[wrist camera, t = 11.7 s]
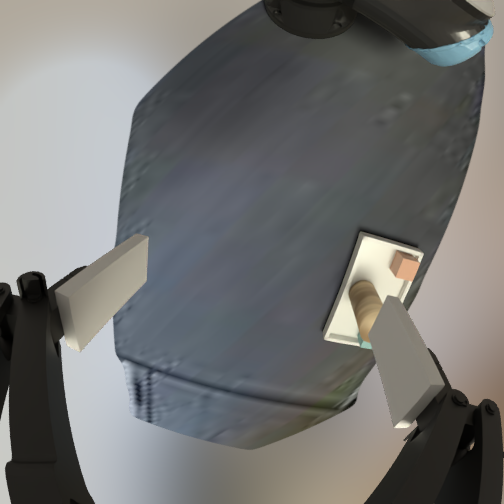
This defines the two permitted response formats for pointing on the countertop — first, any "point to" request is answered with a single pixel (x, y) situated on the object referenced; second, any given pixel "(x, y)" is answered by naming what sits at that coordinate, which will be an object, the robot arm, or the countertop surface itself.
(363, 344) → the teal block
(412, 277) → the terracotta block
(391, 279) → the parts tray
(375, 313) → the turned wooden pepper mill
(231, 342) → the countertop surface
